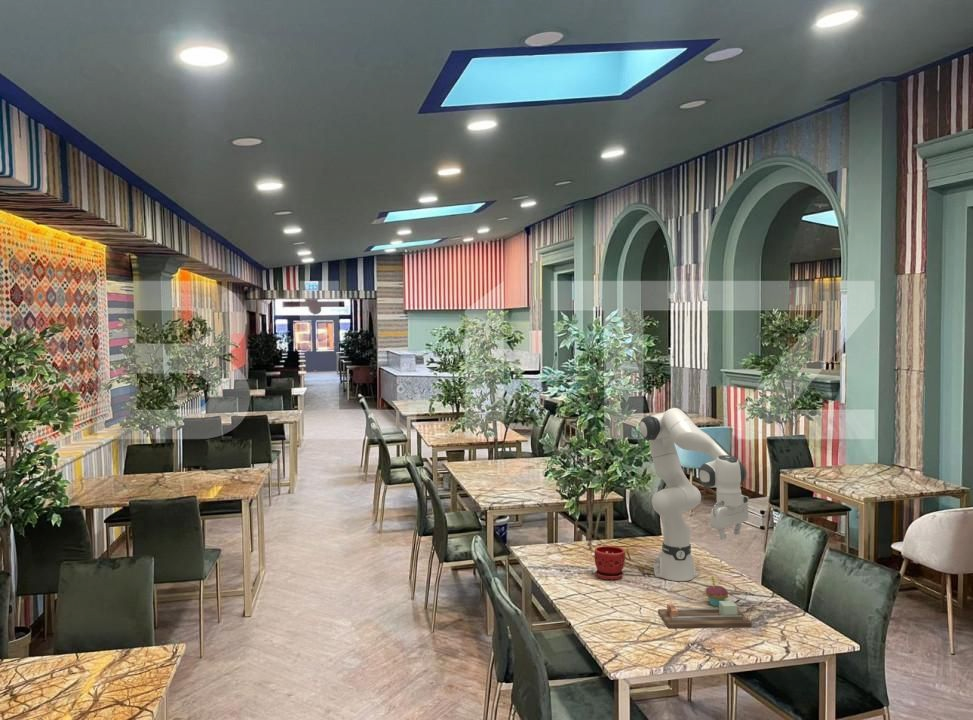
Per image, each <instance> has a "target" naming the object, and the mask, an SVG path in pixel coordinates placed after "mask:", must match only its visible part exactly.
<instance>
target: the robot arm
mask: <svg viewBox="0 0 973 720" xmlns="http://www.w3.org/2000/svg"><path fill="white" fill-rule="evenodd" d="M639 431H640V434H641V436H642V437H643V438H644V439H645V440H647V441H649V447H650V448H649V449H650V454H651V459H652V462H653V466H654V470H655V473H656V476H657V478H659V479H660V480H662V481H664V483H665V485H666V486H667V488H666V487H665V488H662V489H660V490H658V491H657V492H655V493H654V494H653V495H652V497H651V505H652V508H653V510H654V511H655V512H656V513H657V514H658V515H659V516H660V517H659V518H660V519H661V523H662V529H663V531H662V532H663V542H662V546H661V550H662V551H661V552H659V554H658V555H657V557H654V562H655V563H653V564H652V568H654V569H653V574H654V577H656V578H661V579H665V580H668V581H674V582H675V581H676V582H687V581H690V580H693V579H694V578H696V577H699V573H698V572H697V571H696V566H695V565H696V564H695V557H694V556H693V555H692V546H691V543H690V542H691V533H690V532H691V531H690V530H691V528H690V525H689V524H688V523H687V522H685V520H684V517H683V512H686V511H691V510H692V509H694V508H696V507H698V506H699V505H700V504H701V501H702V493H701V492H700V490H699V488H698V487H696V486H695V485H694V484H692V483H691V482H690V480H689V479H688V478H687V476H686V474H685V473H684V470H683V468H682V465H681V462H680V458H679V455H678V451H677V448H676V446H677V447H678V448H679V449H682V450H686V451H693V452H699V453H703V454H707V455H708V456H710V457H711V458H712V459H713V460H712V461H709V462H705V463H702V464H701V465H700V467H699V470H698V479H699V481H700V483H701V484H702V485H703V486H704V487H706V488H716V503H714V505H713V507H712V509H711V513H710V527H711V528H712V529H715V530H717V532H718V534H719V539H720V540H726V539H727V534H726V533H725V528H728V527H731V526H734V525H735V527H734V529H733V534H734V536H735V535H736V536H739V535H741V528H742V525H743V523H744V522H747V521H748V519H749V504H748V503H749V500H750V499H749V497H748V496H747V495H743V494H742V489H741V486H742V485H743V484H744V482H745V481H746V479H747V475H748V474H747V470H746V467H745V466H744V464H743V463H742V462H741V461H740V460H739V459H738V458H737V457H736V456H732V455H731V454H730V453H729V452H728V451H727V450H726V449H725V448H724V447H723V446H722V445H721V444H720V443H719V442H718V441H717V440H716V439H715V438H714V437H712V436H711V435H710V434H708V433H706V432H704V431H703V430H702V429H700V428H699V427H698V426H697V425H696V424H695V423H694V422H693V421H692V419H691V418H690V416H689V415H688V413H687V412H686V411H685V410H681V409H680V408H679V407H678V408H677V407H671V408H669V409H667V410H666V411H662V412H659V413H655V414H652V415H647V416H645V417H643V418H641V419H640V422H639Z"/></svg>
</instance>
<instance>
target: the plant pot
mask: <svg viewBox="0 0 973 720" xmlns="http://www.w3.org/2000/svg"><path fill="white" fill-rule="evenodd" d="M593 553H594V564H595V566H596V569H597V570H595V575H596V576H598V577H599V578H600V579H603V580H607V579H611V580H612V581H613V579H615V580H618V579H621V578H622V577H623V575H624V572H623V569H624V566H625V561H626V550H625V549H623V548H622V547H619V546H612V545H603V546H597V547H595V548H594V552H593Z"/></svg>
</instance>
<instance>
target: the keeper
mask: <svg viewBox="0 0 973 720" xmlns="http://www.w3.org/2000/svg"><path fill="white" fill-rule="evenodd" d="M718 608H719V614H720V615H721V616H726V615H737V608H738V604H736V603H735V602H734V601H733V600H725V601H719V607H718Z"/></svg>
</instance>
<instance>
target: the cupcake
mask: <svg viewBox="0 0 973 720" xmlns="http://www.w3.org/2000/svg"><path fill="white" fill-rule="evenodd" d="M711 581H712V585H710V586H708V587H707V588H705V591H704V592H705V595H706V597H708V601H709V603H710V605H711V606H713V607H715V608H719V601H726V599H727V598H728V597H729V591H728V590H727V589H726V588H725V587H723V586H722V585H721V586H720V585H715V578H714V575H713V574H711Z"/></svg>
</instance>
